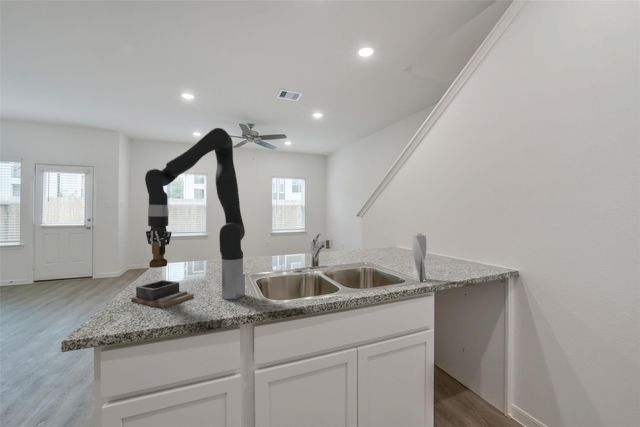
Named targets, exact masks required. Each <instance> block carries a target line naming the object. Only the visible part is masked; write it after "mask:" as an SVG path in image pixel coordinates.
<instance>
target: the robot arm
mask: <svg viewBox="0 0 640 427" xmlns="http://www.w3.org/2000/svg"><path fill="white" fill-rule="evenodd" d="M233 144H234V143H233V139H232V137H231V135H230V134H229V133H228V132H227V131H226V130H225V129H224V128H220V127H215V128H213V129H210V131H208V132H207V133H206V134H205V135H204V136H202V138H200V139H199V140H198V141H197V142H195V143H194V144H193V145H191V146H190V147H189V148H187V149H186V150H185V151H183V152H181V153H180V154H178V155H176V156H175V157H172V159H170V160H169V161H167V162H166V164H165V167H164V168H163V169H161V170H160V169H157V168H151V169H149V170H147V172H146V173H145V175H144V176H145V178H144V182H145V186H146V190H147V193H148V194H147V195H148V208H147V226H149V227H150V229H149V230H146V231H145V235H146V240H147V243H148V245H150V246H151V252H152V253H151V254H152V255H153V241H158V242H159V246H160V247H159V255H165V254H166V246H168V245H170V241H171V237H172V231H168V230H167V227H168V226H169V205H168V204H169V202H168V199H169V197H168V194H167V192H165V190H164V187H165V186H168V185H170V184H171V183H173V182H174V181H175V180H176V179H177V178H178V177H179V176H180V175H182V174H183V173H186V172H187V171H188V170H190V169H191V168H193V167H194V166H195V165H196V164H197V163H198V162H199V161H200V160H201V159H202V158H203V157H204V156H206V155H207V154H208V153H210V152H213V151H214V153H215V158H216V170H215V171H216V173H215V189H216V195H217V197H218V200H219V202H220V206H221V207H222V210H223V212H224V219H225V224H223V226H222V227H221V228H220V230H219V236H218V237H219V240H218V241H219V253H220V255H221V298H222V299H223V300H238V299H240V298H242V297H244V296H246V275H245V274H244V252H243V250H242V243H241V242H242V240H244V237H245V235H246V230H245V226H244V225H245V224H244V222H243V217H242V213H241V206H240V195H239V186H238V179H237V174H236V170H235V165H234V163H235V162H234V155H233V154H234V151H233V150H234V149H233V146H234V145H233ZM155 227H157V228H158V229H157V231H155V230H154V228H155ZM156 238H157V240H156ZM161 241H162V242H161Z"/></svg>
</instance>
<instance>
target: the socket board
mask: <svg viewBox="0 0 640 427" xmlns="http://www.w3.org/2000/svg"><path fill="white" fill-rule="evenodd" d="M130 298H131V299H130V301H131V302H133V303H138V304H142V305H147V306H151V307H155V308H160V309H166V308H168V307H171V306H173V305H176V304H179V303H181V302H184V301H187V300H190V299H192V298H194V293H190V292H188V291H186V290H182V291H180V282H177V281H171V280H165V279H162V280H157V281H154V282H150V283H146V284H142V285H138V286H136V287H135V296H133V297H130Z"/></svg>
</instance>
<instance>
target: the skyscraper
mask: <svg viewBox="0 0 640 427" xmlns="http://www.w3.org/2000/svg"><path fill="white" fill-rule="evenodd" d="M412 233H413V236H412V244H411V246H412V258H413V268H412V276H411V277H412V278H413V279H417V280H420V282H419V283H424V282H423V280H424V279H426V280H427V275H426V273H427V272H426V266H425V261H426V260H425V259H426V255H427V235H426V233H424V232H423V233H418V232H416V231H415V230H413V231H412ZM412 278H411V279H412Z"/></svg>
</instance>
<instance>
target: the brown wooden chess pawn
mask: <svg viewBox="0 0 640 427" xmlns="http://www.w3.org/2000/svg"><path fill="white" fill-rule="evenodd" d="M157 229H158V228H157V227H155V228H154V230H155V231H157ZM156 240H157V238H156ZM161 242H162V241H161ZM159 247H160V246H159V242H158V241H153V254H152V259H151V260H150V261H149V268H152V269H154V268H155V269H157V268H163V267H167V266H168V260H167V259H166V258H164V257H165V256H164V255H165V254H164V255H159Z"/></svg>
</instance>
